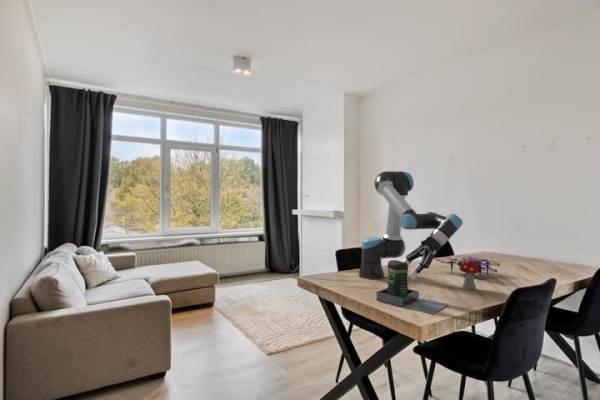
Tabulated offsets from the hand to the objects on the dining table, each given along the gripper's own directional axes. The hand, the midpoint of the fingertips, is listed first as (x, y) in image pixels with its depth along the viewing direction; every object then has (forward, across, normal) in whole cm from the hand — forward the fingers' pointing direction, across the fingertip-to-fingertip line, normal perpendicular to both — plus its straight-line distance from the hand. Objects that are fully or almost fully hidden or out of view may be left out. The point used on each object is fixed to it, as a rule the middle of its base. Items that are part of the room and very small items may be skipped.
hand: (404, 273), depth 155 cm
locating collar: (+11, +1, -7) cm, 13 cm away
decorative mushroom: (-20, +16, -39) cm, 47 cm away
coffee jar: (+11, +1, -7) cm, 13 cm away
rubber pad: (+4, -9, -14) cm, 17 cm away
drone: (-35, +45, -54) cm, 79 cm away
